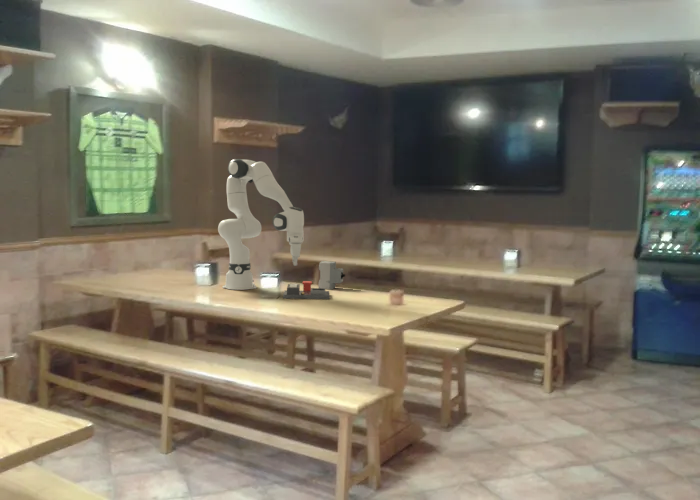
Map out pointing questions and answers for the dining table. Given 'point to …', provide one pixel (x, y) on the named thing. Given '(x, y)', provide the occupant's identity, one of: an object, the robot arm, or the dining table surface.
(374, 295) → the dining table surface
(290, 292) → the breaker panel
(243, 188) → the robot arm
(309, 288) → the lockout cap
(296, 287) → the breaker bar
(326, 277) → the circuit breaker
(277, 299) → the dining table surface
